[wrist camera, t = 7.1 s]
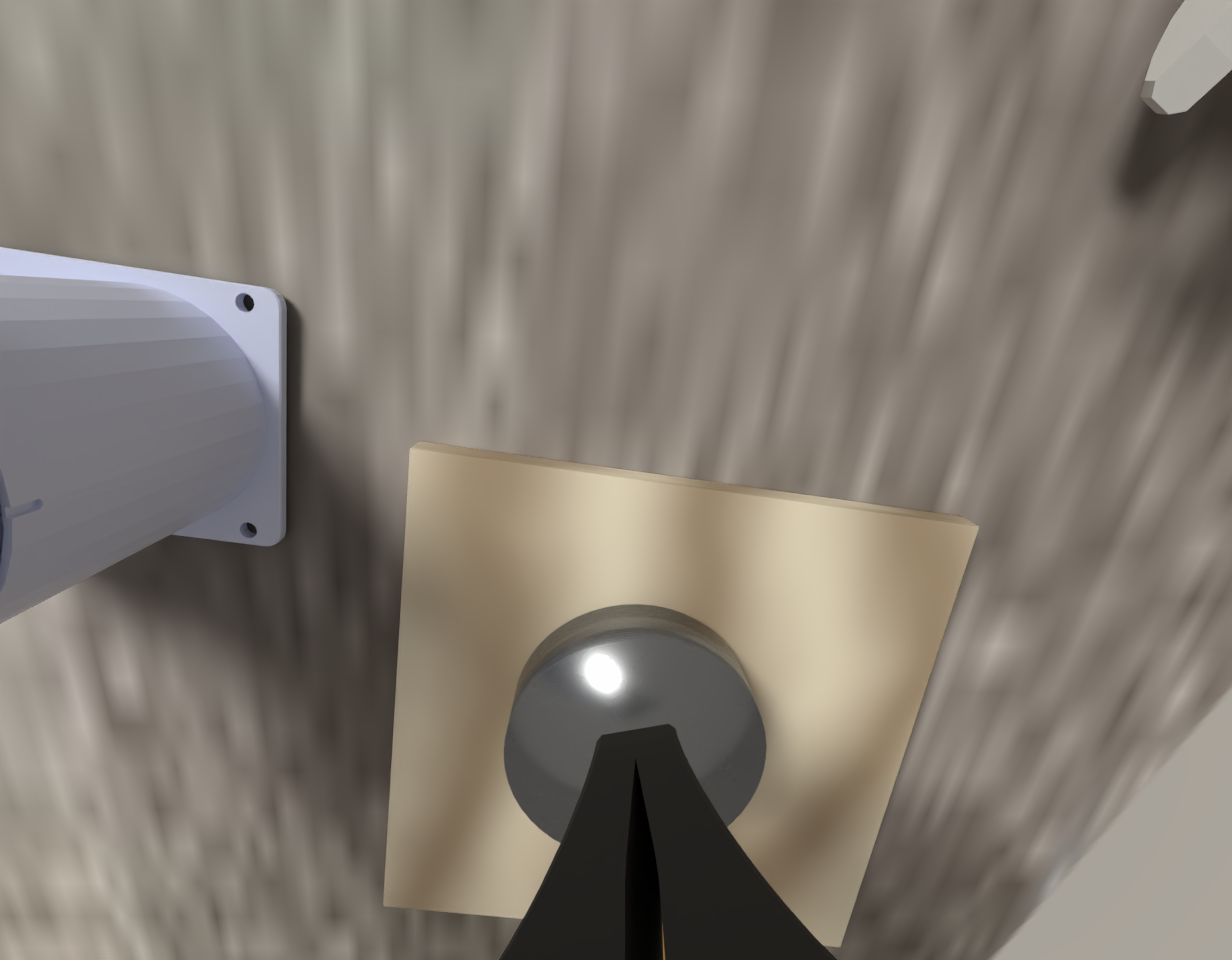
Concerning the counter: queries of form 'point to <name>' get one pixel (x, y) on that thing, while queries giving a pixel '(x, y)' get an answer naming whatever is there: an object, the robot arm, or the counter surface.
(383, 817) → the counter surface
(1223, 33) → the wrench
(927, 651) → the panel
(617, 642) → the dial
